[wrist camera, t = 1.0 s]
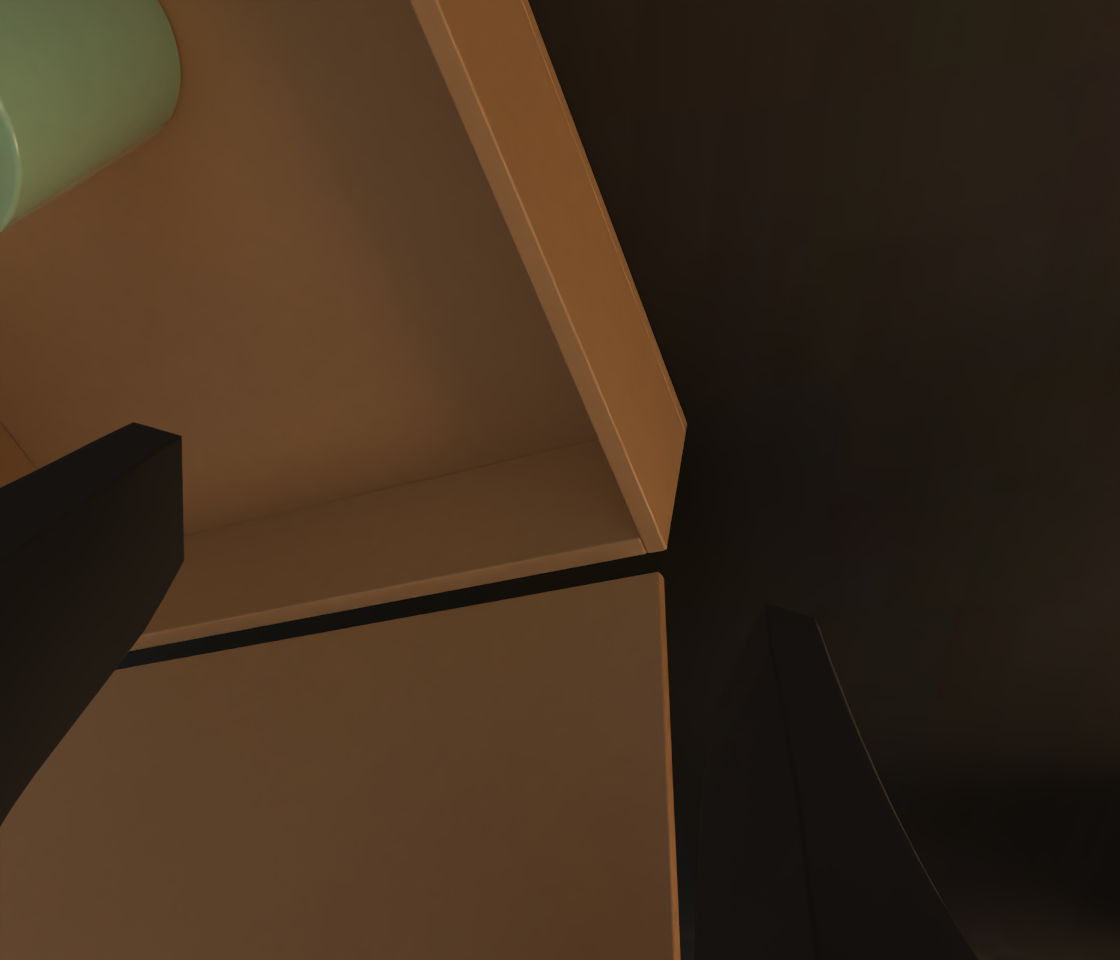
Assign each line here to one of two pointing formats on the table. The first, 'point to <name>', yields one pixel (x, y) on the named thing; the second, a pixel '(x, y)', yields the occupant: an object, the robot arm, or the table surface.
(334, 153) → the carton
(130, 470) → the robot arm
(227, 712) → the flap
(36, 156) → the bottle
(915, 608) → the table surface
